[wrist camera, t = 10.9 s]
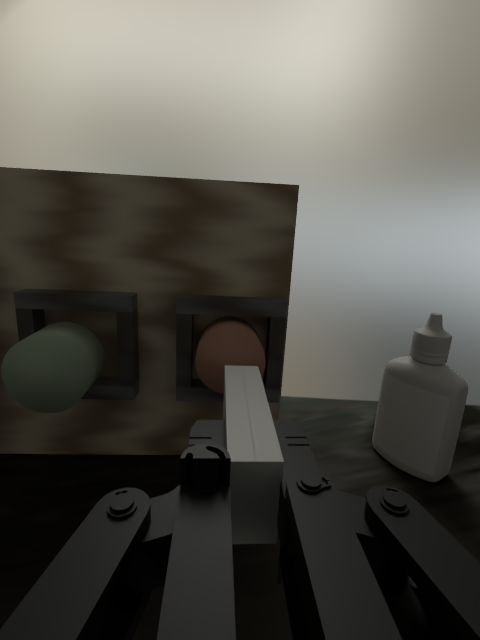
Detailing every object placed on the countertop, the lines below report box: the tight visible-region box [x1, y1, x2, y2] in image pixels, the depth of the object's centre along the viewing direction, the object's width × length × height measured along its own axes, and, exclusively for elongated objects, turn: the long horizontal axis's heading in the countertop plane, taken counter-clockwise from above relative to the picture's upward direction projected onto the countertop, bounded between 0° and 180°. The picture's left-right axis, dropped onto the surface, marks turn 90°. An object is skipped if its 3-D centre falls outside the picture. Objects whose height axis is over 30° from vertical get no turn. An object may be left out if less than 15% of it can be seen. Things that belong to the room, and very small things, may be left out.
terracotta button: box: [195, 317, 265, 394], centre depth 23 cm, size 4×3×4 cm
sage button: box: [1, 322, 105, 413], centre depth 20 cm, size 4×3×4 cm
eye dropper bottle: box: [372, 313, 468, 482], centre depth 26 cm, size 4×6×12 cm
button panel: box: [0, 167, 299, 455], centre depth 25 cm, size 28×4×20 cm, turn 93°
